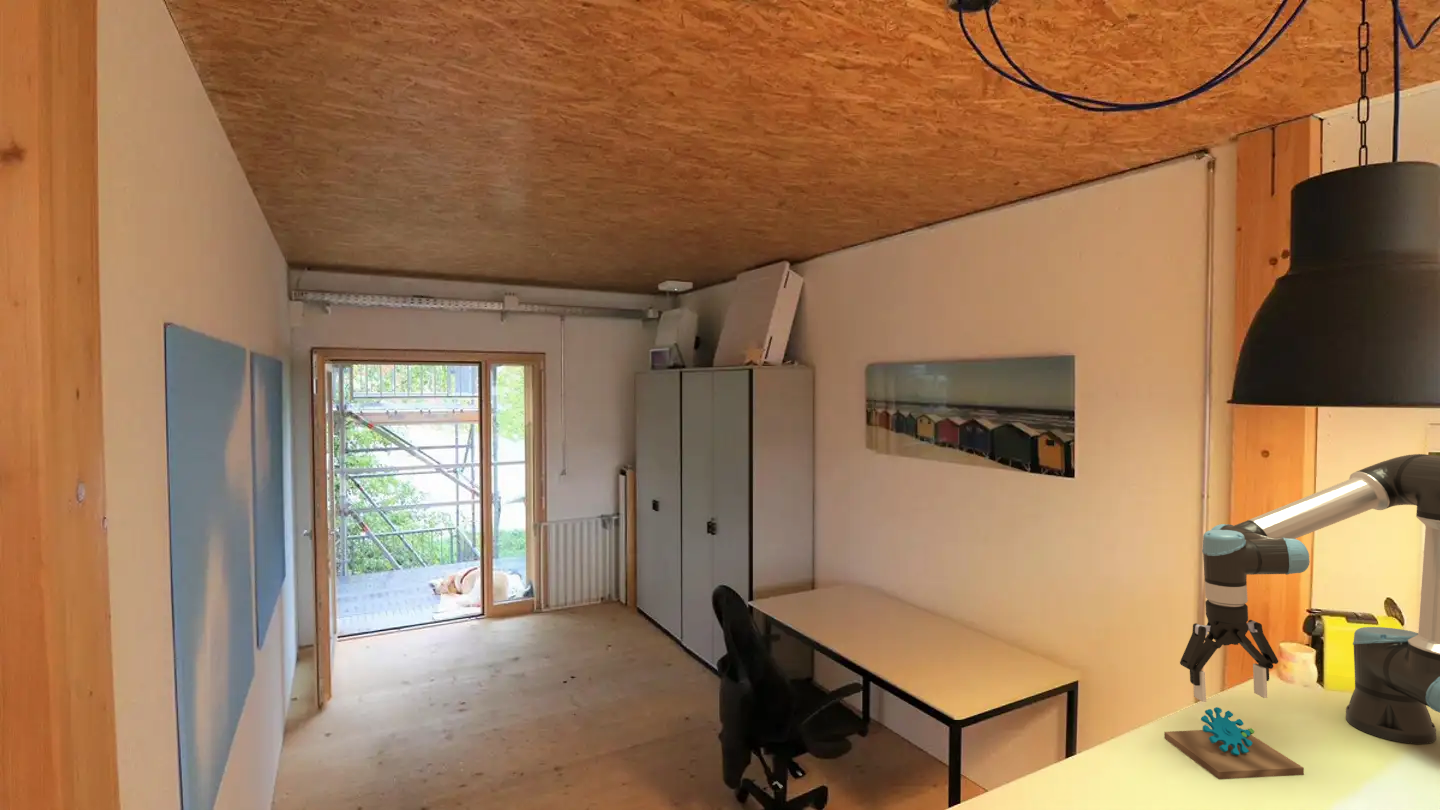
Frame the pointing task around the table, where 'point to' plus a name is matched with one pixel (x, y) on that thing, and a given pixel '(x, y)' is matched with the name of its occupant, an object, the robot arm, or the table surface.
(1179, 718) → the table surface
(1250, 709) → the table surface
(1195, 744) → the mount plate
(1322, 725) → the table surface
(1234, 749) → the gear
